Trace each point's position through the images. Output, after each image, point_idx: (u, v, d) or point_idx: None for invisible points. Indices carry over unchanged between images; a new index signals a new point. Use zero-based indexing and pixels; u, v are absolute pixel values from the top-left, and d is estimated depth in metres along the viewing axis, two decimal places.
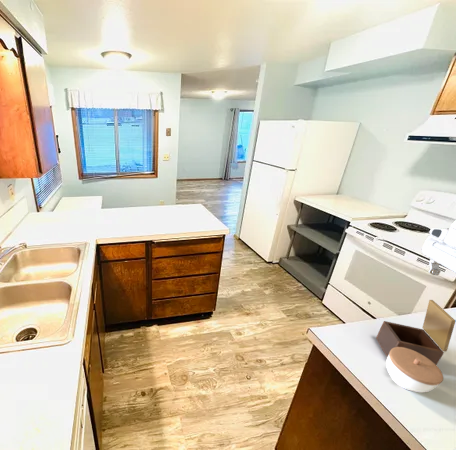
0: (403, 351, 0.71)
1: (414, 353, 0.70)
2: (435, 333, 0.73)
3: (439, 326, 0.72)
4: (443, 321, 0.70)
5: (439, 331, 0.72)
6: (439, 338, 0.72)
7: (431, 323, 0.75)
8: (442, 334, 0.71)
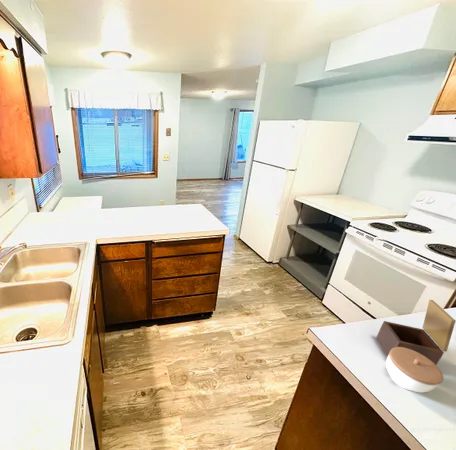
0: (403, 351, 0.71)
1: (414, 353, 0.70)
2: (435, 333, 0.73)
3: (439, 326, 0.72)
4: (443, 321, 0.70)
5: (439, 331, 0.72)
6: (439, 338, 0.72)
7: (431, 323, 0.75)
8: (442, 334, 0.71)
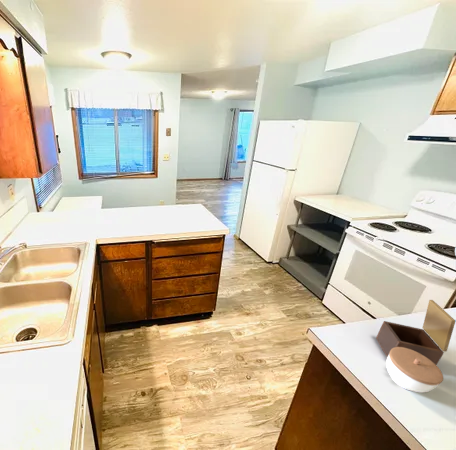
0: (403, 351, 0.71)
1: (414, 353, 0.70)
2: (435, 333, 0.73)
3: (439, 326, 0.72)
4: (443, 321, 0.70)
5: (439, 331, 0.72)
6: (439, 338, 0.72)
7: (431, 323, 0.75)
8: (442, 334, 0.71)
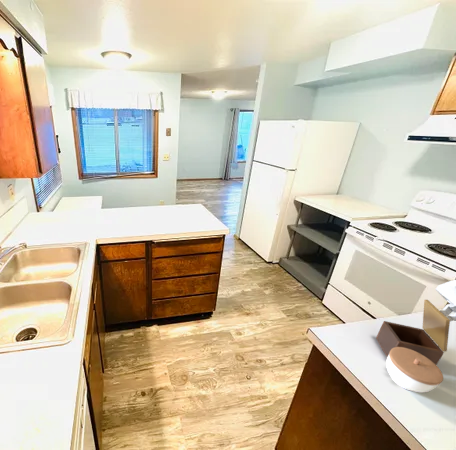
0: (403, 351, 0.71)
1: (414, 353, 0.70)
2: (434, 333, 0.73)
3: (436, 326, 0.72)
4: (439, 321, 0.70)
5: (437, 331, 0.72)
6: (438, 338, 0.72)
7: (429, 323, 0.75)
8: (440, 334, 0.71)
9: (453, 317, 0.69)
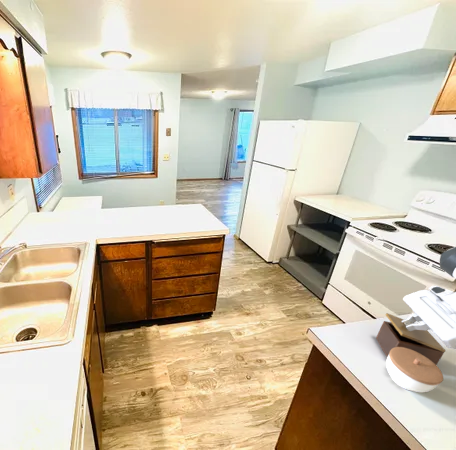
0: (403, 351, 0.71)
1: (414, 353, 0.70)
2: None
3: None
4: None
5: None
6: None
7: None
8: None
9: (416, 326, 0.73)
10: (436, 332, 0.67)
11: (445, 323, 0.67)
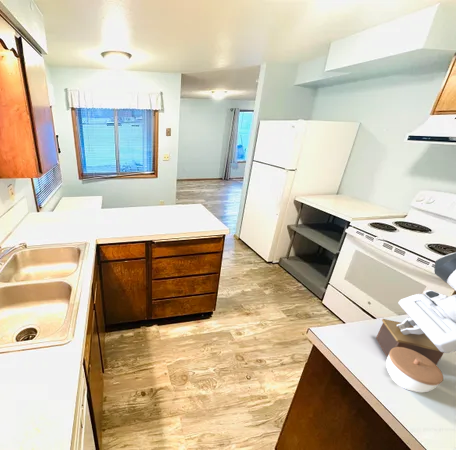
0: (403, 351, 0.71)
1: (414, 353, 0.70)
2: None
3: None
4: None
5: None
6: None
7: None
8: None
9: (410, 330, 0.74)
10: (429, 336, 0.68)
11: (438, 328, 0.68)
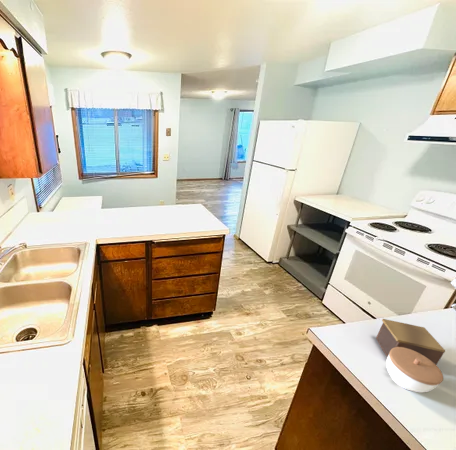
0: (403, 351, 0.71)
1: (414, 353, 0.70)
2: None
3: None
4: None
5: None
6: None
7: None
8: None
9: None
10: None
11: None
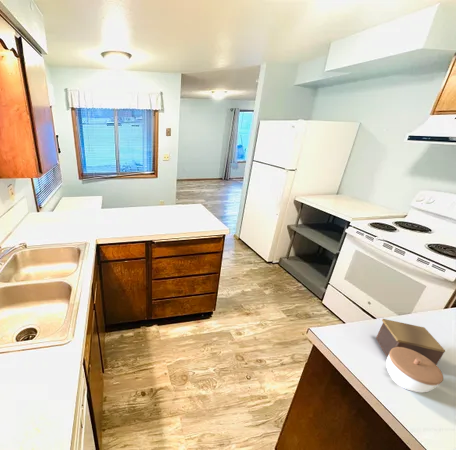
0: (403, 351, 0.71)
1: (414, 353, 0.70)
2: None
3: None
4: None
5: None
6: None
7: None
8: None
9: None
10: None
11: None
